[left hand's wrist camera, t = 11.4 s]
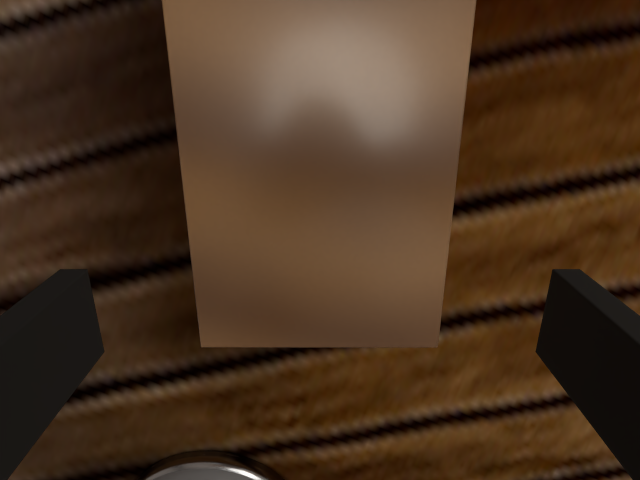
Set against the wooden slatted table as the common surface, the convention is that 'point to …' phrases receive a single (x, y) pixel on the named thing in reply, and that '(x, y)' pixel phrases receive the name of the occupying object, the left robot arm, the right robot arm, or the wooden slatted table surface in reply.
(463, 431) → the wooden slatted table surface
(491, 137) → the wooden slatted table surface
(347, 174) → the cabinet
